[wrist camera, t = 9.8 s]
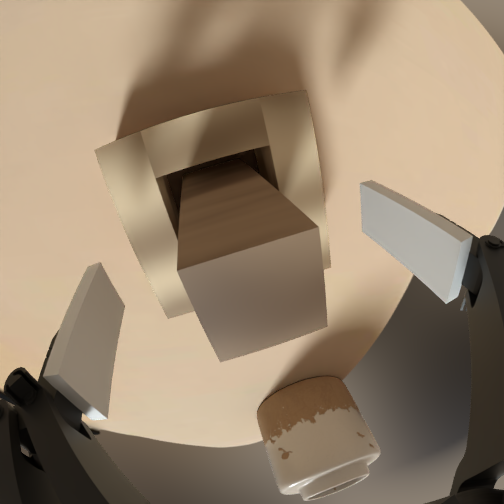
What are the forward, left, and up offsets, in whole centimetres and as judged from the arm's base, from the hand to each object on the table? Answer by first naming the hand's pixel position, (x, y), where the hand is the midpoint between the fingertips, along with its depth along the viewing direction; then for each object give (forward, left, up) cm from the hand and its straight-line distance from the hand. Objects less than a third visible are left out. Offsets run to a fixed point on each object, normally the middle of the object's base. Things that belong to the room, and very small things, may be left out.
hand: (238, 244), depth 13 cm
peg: (0, 0, -10) cm, 10 cm away
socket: (0, 0, -10) cm, 10 cm away
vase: (+36, +3, -10) cm, 38 cm away
